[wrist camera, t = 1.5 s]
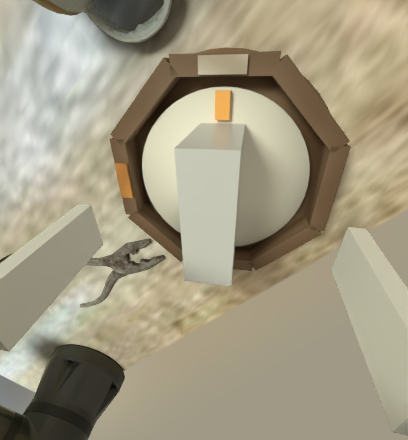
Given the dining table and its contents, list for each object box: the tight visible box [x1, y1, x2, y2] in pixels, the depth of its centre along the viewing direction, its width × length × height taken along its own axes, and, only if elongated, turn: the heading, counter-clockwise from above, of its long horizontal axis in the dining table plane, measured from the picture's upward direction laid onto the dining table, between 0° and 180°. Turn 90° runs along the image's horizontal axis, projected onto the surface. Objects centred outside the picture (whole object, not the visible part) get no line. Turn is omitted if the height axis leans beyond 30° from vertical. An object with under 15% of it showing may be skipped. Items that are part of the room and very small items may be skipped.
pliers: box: [80, 239, 165, 307], centre depth 32 cm, size 10×1×20 cm
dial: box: [142, 86, 310, 286], centre depth 17 cm, size 14×14×8 cm
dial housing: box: [110, 48, 350, 271], centre depth 20 cm, size 18×18×4 cm
